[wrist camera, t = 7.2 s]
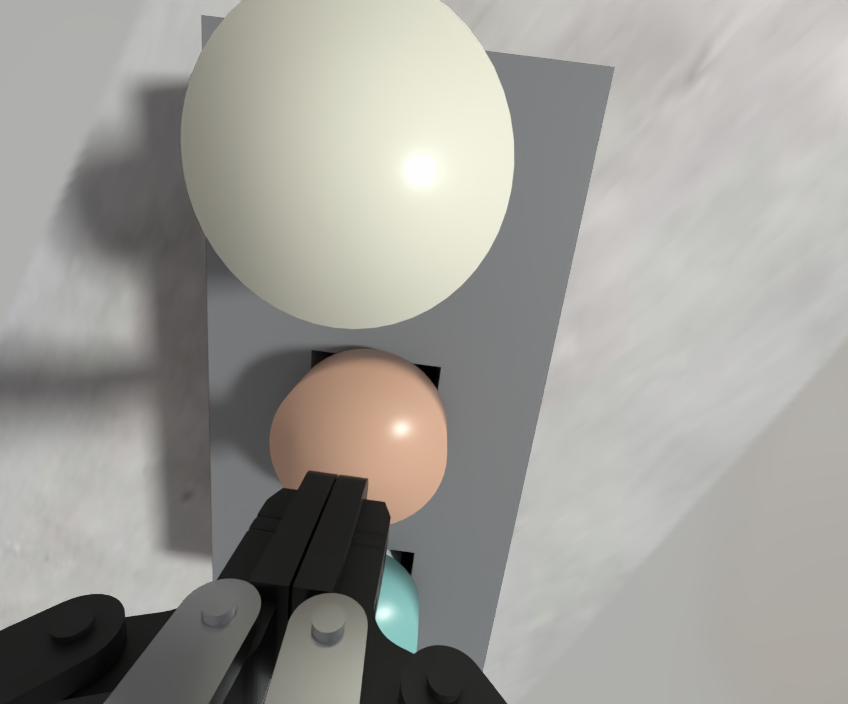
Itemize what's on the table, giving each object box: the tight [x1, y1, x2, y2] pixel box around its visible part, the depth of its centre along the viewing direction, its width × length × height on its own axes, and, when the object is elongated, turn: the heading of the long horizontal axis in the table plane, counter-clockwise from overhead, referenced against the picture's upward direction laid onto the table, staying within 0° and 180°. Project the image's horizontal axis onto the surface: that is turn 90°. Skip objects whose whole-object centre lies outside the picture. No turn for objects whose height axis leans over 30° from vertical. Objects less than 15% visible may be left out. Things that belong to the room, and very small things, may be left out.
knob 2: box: [375, 549, 420, 654], centre depth 20 cm, size 6×6×8 cm
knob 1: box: [181, 0, 514, 329], centre depth 11 cm, size 6×6×8 cm
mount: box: [201, 15, 615, 672], centre depth 20 cm, size 24×12×6 cm, turn 173°
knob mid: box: [269, 349, 447, 524], centre depth 18 cm, size 6×6×8 cm
